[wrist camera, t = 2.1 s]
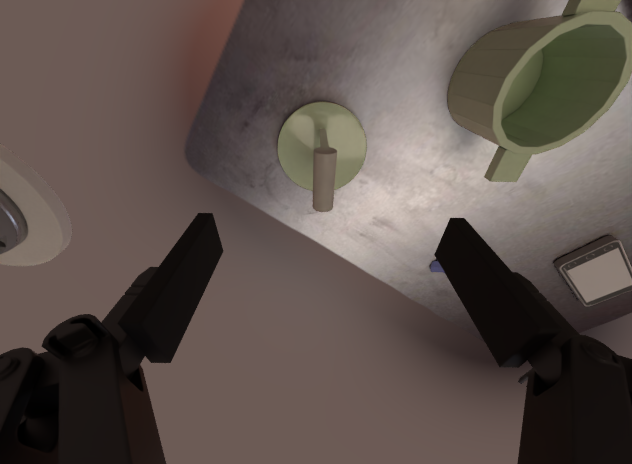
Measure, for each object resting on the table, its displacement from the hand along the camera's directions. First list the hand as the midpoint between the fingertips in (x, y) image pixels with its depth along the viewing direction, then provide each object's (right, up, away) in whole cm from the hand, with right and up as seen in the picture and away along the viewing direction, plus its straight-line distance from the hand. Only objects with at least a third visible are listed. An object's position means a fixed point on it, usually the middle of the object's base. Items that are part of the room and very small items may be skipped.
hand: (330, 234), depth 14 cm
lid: (0, +9, +12) cm, 15 cm away
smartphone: (+43, -6, +24) cm, 50 cm away
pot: (+16, +14, +9) cm, 23 cm away
